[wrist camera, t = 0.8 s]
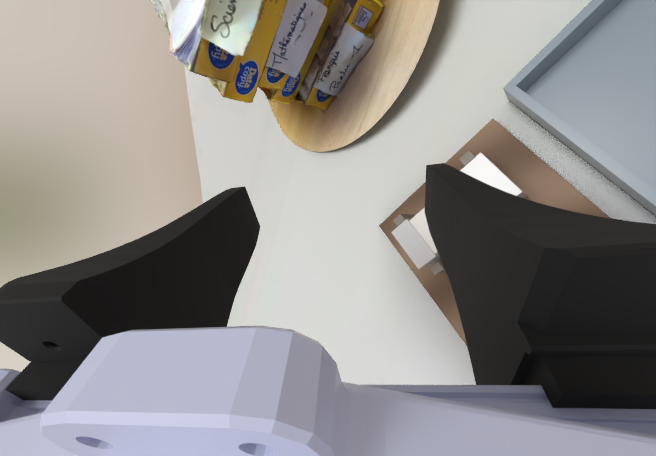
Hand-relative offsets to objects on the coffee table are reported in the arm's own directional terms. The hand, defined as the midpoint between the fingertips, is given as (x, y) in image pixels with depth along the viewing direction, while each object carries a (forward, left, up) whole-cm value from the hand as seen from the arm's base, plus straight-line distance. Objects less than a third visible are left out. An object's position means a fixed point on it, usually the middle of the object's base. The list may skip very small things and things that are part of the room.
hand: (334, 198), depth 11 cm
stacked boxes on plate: (+22, -3, -16) cm, 27 cm away
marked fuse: (-1, 0, -14) cm, 14 cm away
